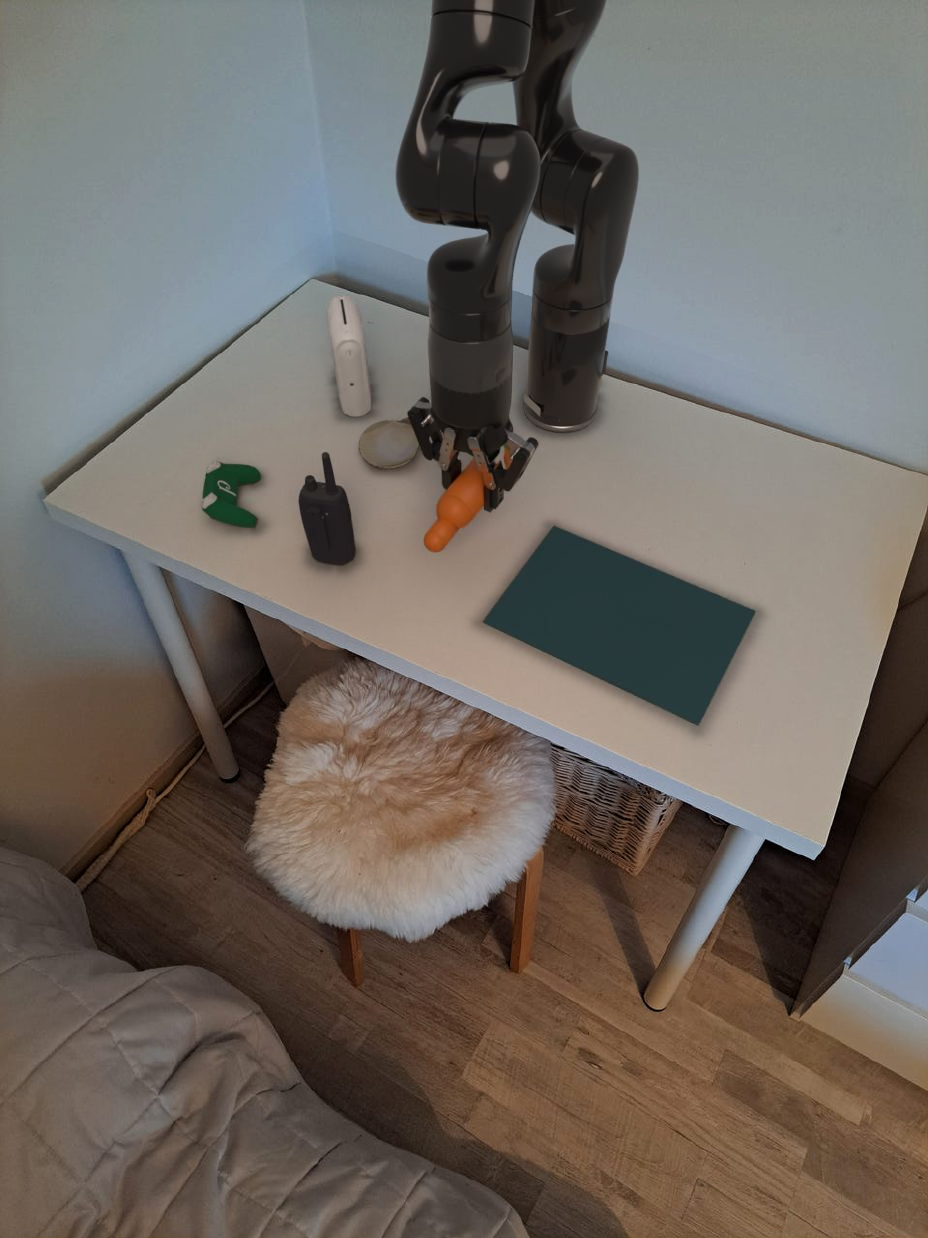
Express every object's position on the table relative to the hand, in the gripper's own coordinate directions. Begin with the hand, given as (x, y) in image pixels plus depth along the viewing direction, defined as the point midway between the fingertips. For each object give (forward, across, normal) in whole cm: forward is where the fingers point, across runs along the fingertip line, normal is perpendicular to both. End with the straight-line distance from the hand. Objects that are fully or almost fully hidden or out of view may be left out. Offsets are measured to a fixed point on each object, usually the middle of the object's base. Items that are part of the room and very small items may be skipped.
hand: (472, 498), depth 88 cm
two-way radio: (+7, +13, +10) cm, 18 cm away
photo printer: (+8, +27, -16) cm, 32 cm away
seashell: (+8, +16, -8) cm, 20 cm away
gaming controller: (+7, +28, +8) cm, 30 cm away
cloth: (+7, -19, +1) cm, 20 cm away
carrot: (+1, 0, 0) cm, 1 cm away
